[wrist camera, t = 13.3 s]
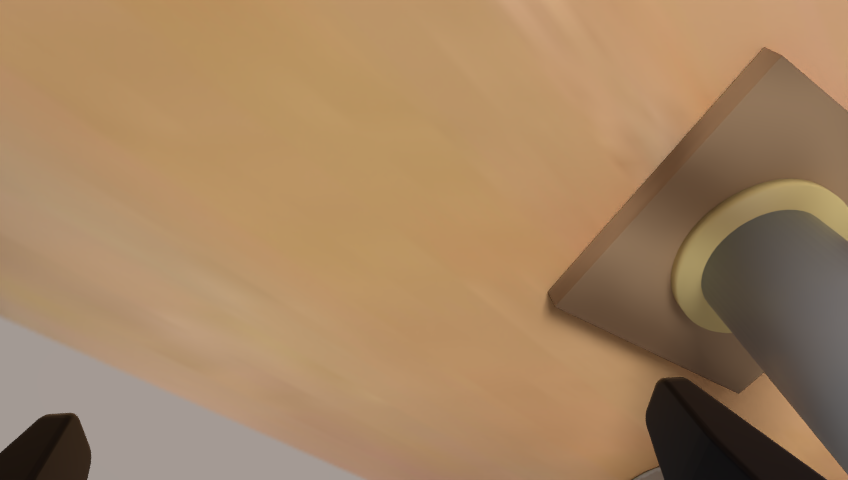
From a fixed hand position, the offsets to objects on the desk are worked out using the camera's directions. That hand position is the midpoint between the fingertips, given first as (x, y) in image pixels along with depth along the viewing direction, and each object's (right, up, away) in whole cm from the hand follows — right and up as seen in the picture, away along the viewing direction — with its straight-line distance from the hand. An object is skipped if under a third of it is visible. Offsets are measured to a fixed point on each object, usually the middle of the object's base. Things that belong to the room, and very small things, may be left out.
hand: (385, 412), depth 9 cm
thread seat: (+14, +3, +16) cm, 22 cm away
